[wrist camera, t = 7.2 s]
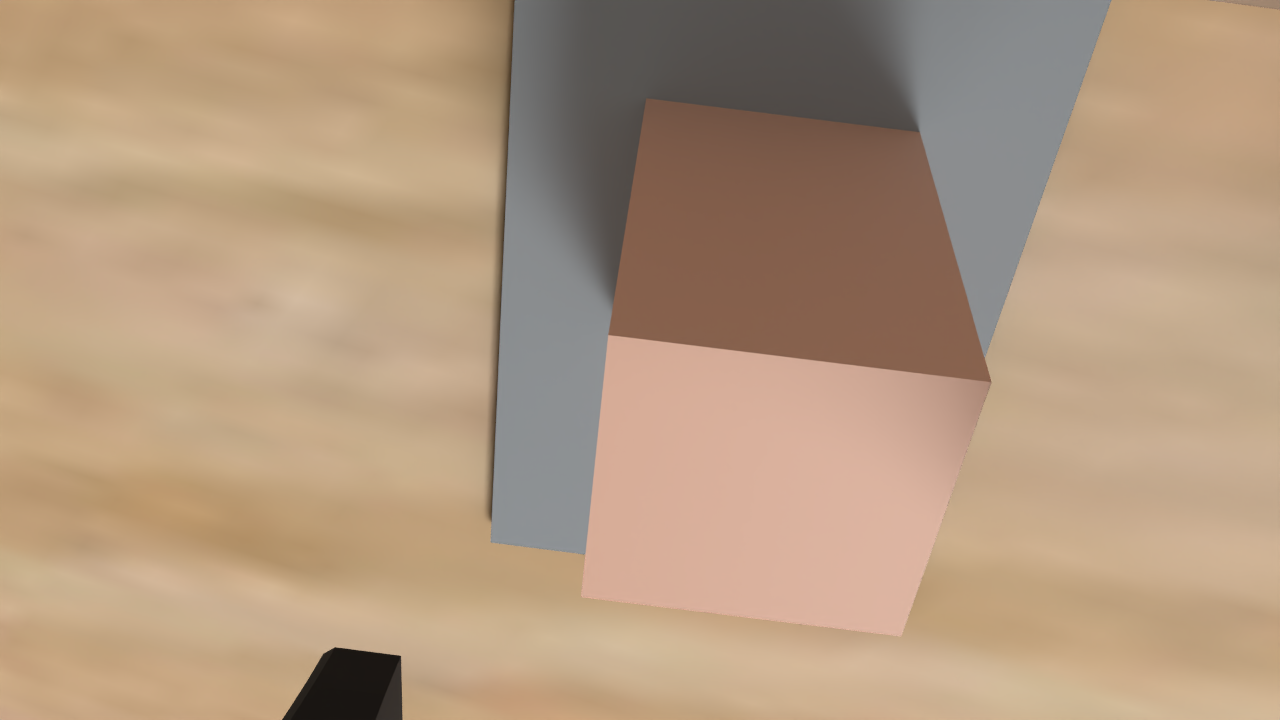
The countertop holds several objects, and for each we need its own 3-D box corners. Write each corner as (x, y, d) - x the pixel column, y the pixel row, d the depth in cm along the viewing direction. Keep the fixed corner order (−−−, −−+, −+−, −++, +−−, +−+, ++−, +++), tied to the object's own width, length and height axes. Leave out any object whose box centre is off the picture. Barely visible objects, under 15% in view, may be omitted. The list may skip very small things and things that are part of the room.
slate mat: (1166, -190, 15) (1175, -183, 14) (898, 579, 23) (900, 594, 23) (531, -273, 15) (526, -269, 14) (494, 528, 23) (490, 542, 23)
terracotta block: (919, 131, 17) (991, 382, 12) (861, 353, 19) (902, 636, 14) (646, 97, 17) (608, 334, 12) (621, 323, 19) (581, 596, 14)
